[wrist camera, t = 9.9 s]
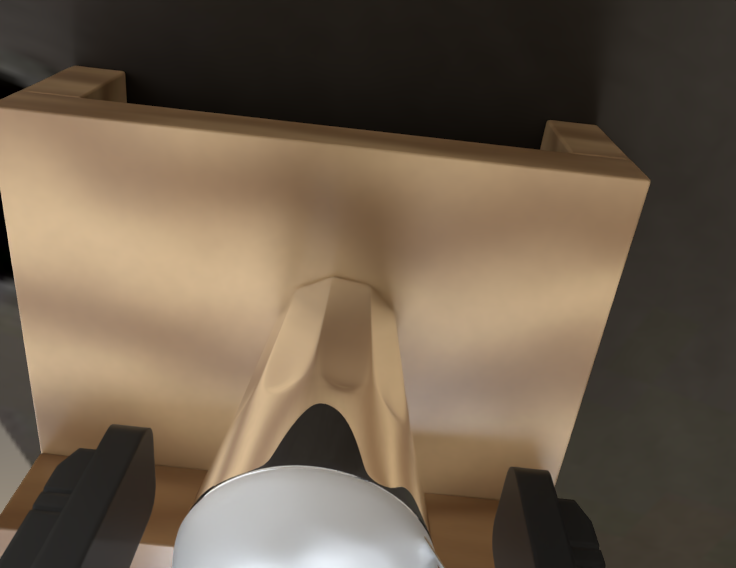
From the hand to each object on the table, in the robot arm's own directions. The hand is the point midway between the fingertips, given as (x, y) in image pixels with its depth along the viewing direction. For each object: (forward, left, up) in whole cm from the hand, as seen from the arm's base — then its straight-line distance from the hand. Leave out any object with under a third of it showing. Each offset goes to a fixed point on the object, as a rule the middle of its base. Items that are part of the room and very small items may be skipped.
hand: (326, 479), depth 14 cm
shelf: (+1, -1, -11) cm, 11 cm away
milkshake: (0, 0, -6) cm, 6 cm away
